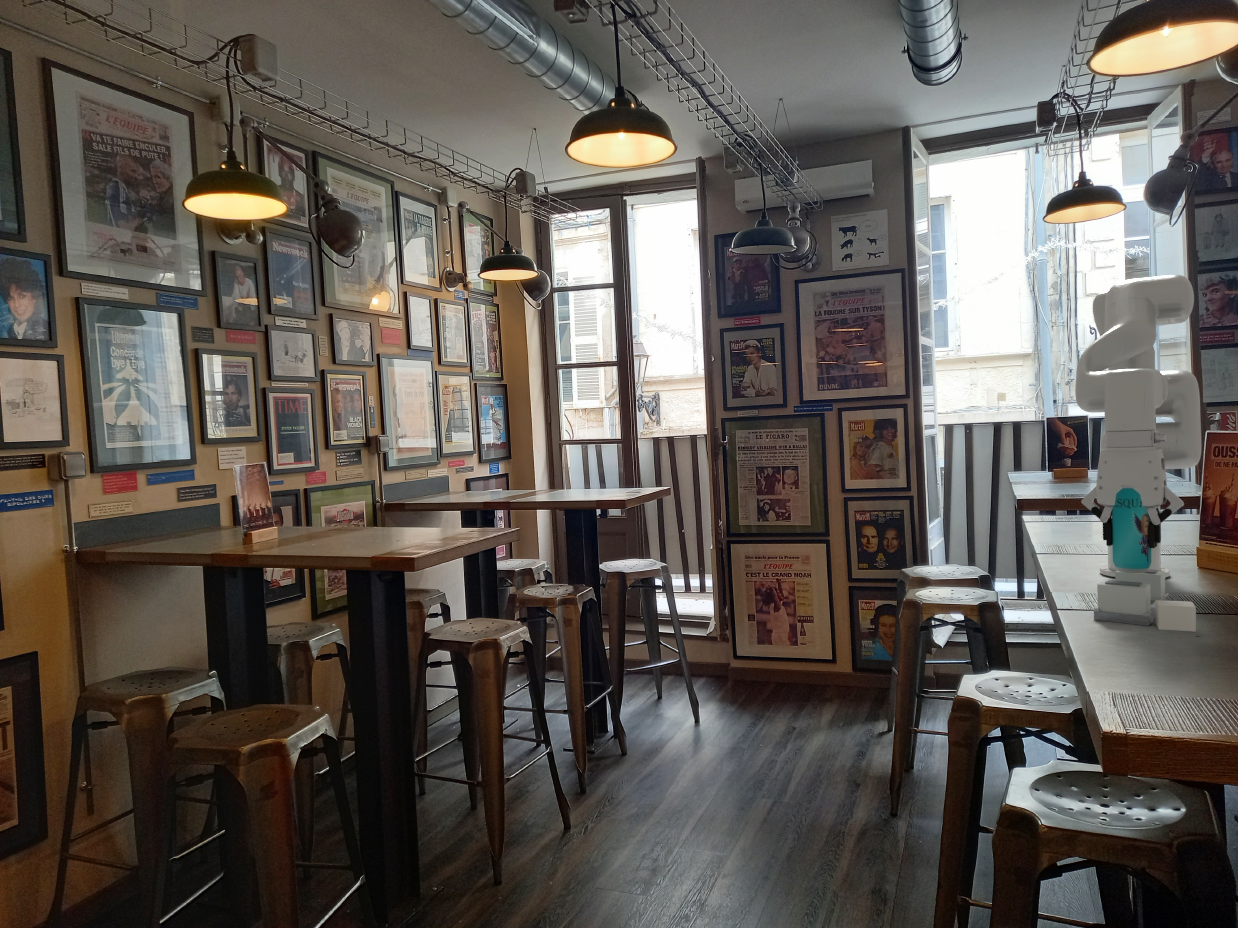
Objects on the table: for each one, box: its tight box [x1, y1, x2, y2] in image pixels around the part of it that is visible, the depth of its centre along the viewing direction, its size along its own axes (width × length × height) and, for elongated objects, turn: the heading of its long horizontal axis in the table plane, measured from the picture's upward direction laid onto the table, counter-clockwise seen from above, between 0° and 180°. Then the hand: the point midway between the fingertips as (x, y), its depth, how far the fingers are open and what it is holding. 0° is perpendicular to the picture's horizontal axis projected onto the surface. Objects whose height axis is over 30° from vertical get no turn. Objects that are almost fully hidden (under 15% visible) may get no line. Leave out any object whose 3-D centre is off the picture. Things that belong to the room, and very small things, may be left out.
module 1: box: [1096, 579, 1151, 615], centre depth 144 cm, size 4×7×5 cm, turn 48°
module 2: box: [1114, 569, 1166, 600], centre depth 154 cm, size 4×7×5 cm, turn 49°
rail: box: [1093, 592, 1170, 627], centre depth 149 cm, size 18×8×2 cm, turn 139°
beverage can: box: [1112, 485, 1151, 573], centre depth 148 cm, size 6×6×15 cm
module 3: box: [1154, 600, 1197, 632], centre depth 138 cm, size 4×5×4 cm
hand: (1131, 544), depth 148 cm, fingers closed on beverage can, 5 cm apart
